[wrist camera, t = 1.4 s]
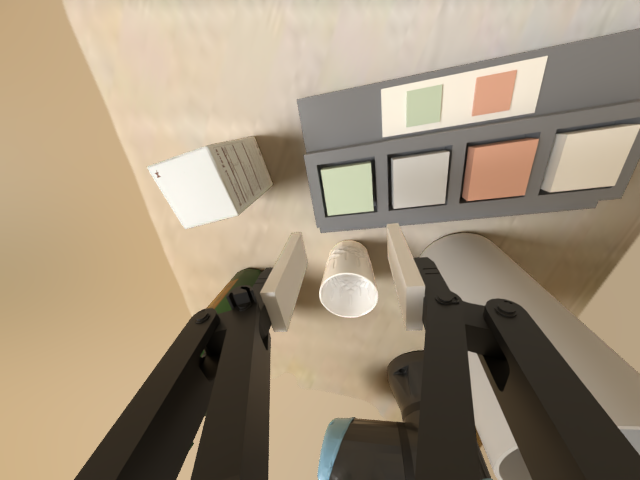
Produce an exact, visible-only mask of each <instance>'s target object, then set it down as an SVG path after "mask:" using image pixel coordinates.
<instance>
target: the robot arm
mask: <svg viewBox="0 0 640 480" xmlns="http://www.w3.org/2000/svg"><path fill="white" fill-rule="evenodd" d="M387 250H388V261H389V265H390V269H391V273H392V277H393V281H394V285H395V289H396V293H397V297H398V301H399V305H400V309H401V313H402V317H403V321H404V325H405V329H406V331H409V330H422V329H423V324H424V327H425V330H426V332H425V346H424V351H416V352H410V353H406V354H403V355H401V356H399V357H397V358H395V359H394V360H393V361H392V362H391V363H390V364H389V366H388V368H387V376H388V383H389V386H390V388H391V390H392V393H393V395H394V397H395V399H396V401H397V404H398V406H399V408H400V410H401V413H402V419H403V422H392V421H380V420H367V419H357V418H355V417H352V418H335V419H334V420H332V421H331V422H330V424H329V425H328V427H327V430H326V433H325V436H324V440H323V444H322V449H321V455H320V460H319V467H318V480H493V479H491V476H490V474H489V471H488V469H487V466H486V464H485V461H484V458H483V456H482V453H481V451H480V448H479V446H478V443H477V439H476V429H475V419H474V409H473V399H472V389H471V379H470V370H469V360H468V351H470V352H473V353H477V355H478V358H479V360H480V362H481V364H482V367H483V369H484V371H485V373H486V376H487V378H488V380H489V383H490V385H491V387H492V389H493V392H494V394H495V396H496V398H497V401H498V403H499V405H500V408H501V410H502V412H503V414H504V417H505V419H506V421H507V423H508V426H509V428H510V430H511V433H512V435H513V437H514V439H515V442H516V444H517V446H518V448H519V451H520V453H521V455H522V458H523V460H524V462H525V464H526V467H527V469H528V471H529V473H530V476H531V478H532V480H640V455H639V453H638V452H637V451H636V450H635V448H634V447H633V446H632V445H631V443H630V442H629V441H628V439H627V438H626V437H625V436H624V434H623V433H622V432H621V431H620V429H619V428H618V427H617V425H616V424H615V423H614V422H613V420H612V419H611V418H610V417H609V415H608V414H607V413H606V411H605V410H604V409H603V408H602V406H601V405H600V404H599V403H598V401H597V400H596V399H595V397H594V396H593V395H592V394H591V392H590V391H589V390H588V389H587V387H586V386H585V385H584V383H583V382H582V381H581V380H580V378H579V377H578V376H577V375H576V373H575V372H574V371H573V369H572V368H571V367H570V366H569V364H568V363H567V362H566V361H565V359H564V358H563V357H562V356H561V354H560V353H559V352H558V350H557V349H556V348H555V347H554V345H553V344H552V343H551V342H550V340H549V339H548V338H547V336H546V335H545V334H544V333H543V331H542V330H541V329H540V328H539V326H538V325H537V324H536V322H535V321H534V320H533V319H532V317H531V316H530V315H529V314H528V312H527V311H526V310H525V309H524V308H523V307H522V306H520V305H519V304H517V303H515V302H513V301H510V300H507V299H500V298H496V299H491V300H489V301H487V302H486V305H485V306H483V305H478V304H472V303H468V302H465V301H462V299H461V297H459V296H458V295H457V294H456V293H454V292H452V291H450V289H449V287H448V286H447V284H446V282H445V280H444V279H443V277H442V275H441V274H440V271H439V270H438V269H437V266H436V264H435V263H434V261H432V260H431V259H429V258H428V257H420V258H413V256H412V254H411V252H410V249H409V247H408V245H407V242H406V240H405V238H404V235H403V233H402V231H401V228H400V226H399V224H398V223H393V224H387ZM307 265H308V260H307V255H306V251H305V246H304V242H303V237H302V233H301V232H297V233H291V235H290V237H289V239H288V241H287V242H286V244H285V246H284V248H283V250H282V252H281V254H280V256H279V258H278V260H277V261H276V263H275V265H274V267H273V268H266V269H265V270H264V271H262V272H261V273H260V275H259V277H258V279H257V280H256V282H255V284H254V285H253V287H251V286H249V285H241V286H238V287H236V288H234V289H232V290H231V291H230V292H229V293H228V294H227V296H226V298H227V300H228V302H229V304H230V307H231V309H232V310H230V311H227V312H223V313H220V314H217V312H216V310H215V309H213V308H207V309H203V310H201V311H199V312H198V313H196V314H195V315H194V316H193V317H192V318H191V319H190V320H189V322H188V323H187V324H186V326H185V327H184V329H183V330H182V331H181V333H180V334H179V335H178V337H177V338H176V340H175V341H174V343H173V344H172V345H171V346H170V348H169V349H168V351H167V352H166V353H165V355H164V356H163V358H162V359H161V360H160V362H159V363H158V364H157V366H156V367H155V369H154V370H153V371H152V373H151V374H150V375H149V377H148V378H147V380H146V381H145V382H144V384H143V385H142V387H141V388H140V389H139V391H138V392H137V393H136V395H135V396H134V398H133V399H132V400H131V402H130V403H129V404H128V406H127V407H126V409H125V410H124V411H123V413H122V414H121V416H120V417H119V418H118V420H117V421H116V423H115V424H114V425H113V426H112V428H111V429H110V431H109V432H108V433H107V435H106V436H105V438H104V439H103V441H102V442H101V443H100V444H99V446H98V447H97V449H96V450H95V451H94V453H93V454H92V456H91V457H90V458H89V460H88V461H87V462H86V464H85V465H84V466H83V468H82V469H81V471H80V472H79V473H78V475H77V476H76V478H75V479H74V480H176V478H177V477H178V474H179V472H180V470H181V467H182V465H183V463H184V461H185V458H186V456H187V454H188V452H189V449H190V447H191V445H192V443H193V440H194V438H195V436H196V434H197V431H198V429H199V427H200V424H201V422H202V420H203V417H204V415H205V413H206V411H207V414H206V418H205V422H204V426H203V431H202V435H201V439H200V443H199V447H198V452H197V456H196V460H195V464H194V468H193V472H192V476H191V480H268V460H269V403H270V402H269V401H270V348H271V337H270V333H269V329H270V327H271V325H272V328H273V330H274V332H287V331H288V327H289V324H290V321H291V318H292V314H293V311H294V308H295V304H296V301H297V298H298V295H299V291H300V288H301V285H302V281H303V278H304V275H305V272H306V268H307ZM203 350H204V353H203V355H202V356H201V354H202V352H203ZM207 409H208V410H207Z"/></svg>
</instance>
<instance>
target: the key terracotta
mask: <svg viewBox="0 0 640 480" xmlns="http://www.w3.org/2000/svg"><path fill="white" fill-rule="evenodd" d="M538 141H539V139H535V138H523V139H516V140H509V141H503V142H496V143H489V144H482V145H475V146H468V152H467V160H466V168H465V176H464V183H463V191H462V198H464V199H465V200H466V201H474V200H483V199H493V198H502V197H512V196H521V195H525V192H526V188H527V184H528V180H529V176H530V172H531V169H532V165H533V161H534V157H535V153H536V149H537V145H538Z"/></svg>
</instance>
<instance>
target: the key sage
mask: <svg viewBox="0 0 640 480" xmlns="http://www.w3.org/2000/svg"><path fill="white" fill-rule="evenodd" d="M321 175H322V181H323V188H324V194H325V201H326V207H327V213H328V216H331V215H340V214H350V213H359V212H369V211H374V208H373V191H372V173H371V162H370V161H365V162H358V163H351V164H345V165H338V166H331V167H324V168H322V169H321Z"/></svg>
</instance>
